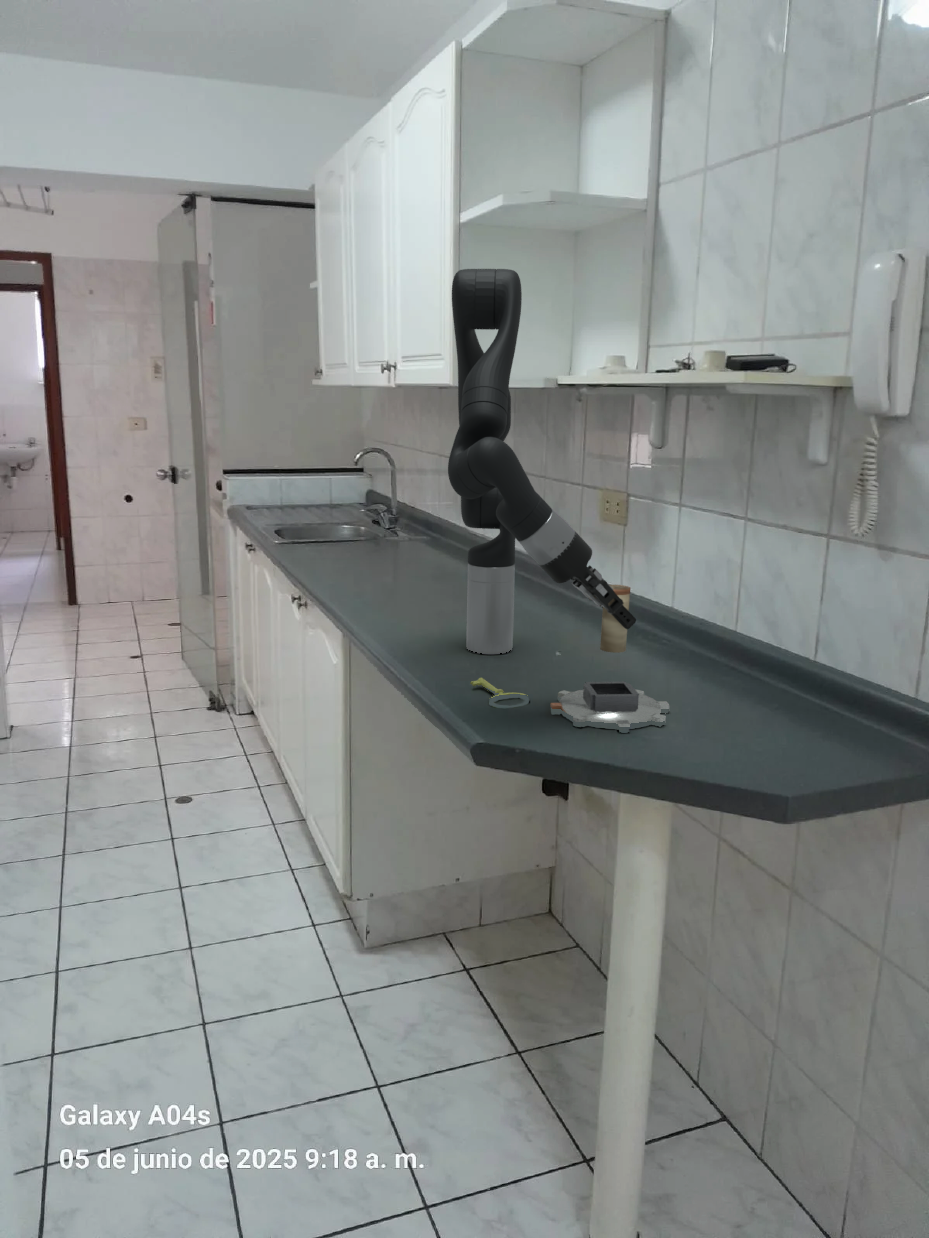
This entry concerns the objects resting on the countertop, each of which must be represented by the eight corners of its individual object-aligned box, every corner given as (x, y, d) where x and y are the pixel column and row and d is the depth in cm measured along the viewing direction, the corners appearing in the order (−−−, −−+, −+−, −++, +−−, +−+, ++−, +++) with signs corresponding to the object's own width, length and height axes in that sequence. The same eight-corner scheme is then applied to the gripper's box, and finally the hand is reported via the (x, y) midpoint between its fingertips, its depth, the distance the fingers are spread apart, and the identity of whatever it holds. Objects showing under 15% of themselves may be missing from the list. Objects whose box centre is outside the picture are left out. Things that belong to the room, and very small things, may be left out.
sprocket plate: (541, 694, 160) (541, 672, 159) (651, 693, 162) (652, 671, 161) (562, 734, 142) (563, 708, 141) (685, 732, 143) (687, 707, 143)
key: (480, 688, 165) (480, 676, 164) (535, 704, 157) (535, 692, 156) (451, 697, 160) (451, 685, 159) (507, 715, 152) (507, 702, 151)
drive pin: (597, 645, 151) (601, 584, 149) (622, 646, 151) (626, 584, 149) (602, 652, 147) (607, 589, 145) (628, 652, 148) (633, 590, 145)
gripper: (586, 535, 137) (660, 614, 142) (559, 522, 150) (628, 595, 155) (549, 571, 137) (624, 650, 142) (526, 555, 151) (595, 627, 156)
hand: (626, 621), depth 149 cm, fingers closed on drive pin, 4 cm apart
